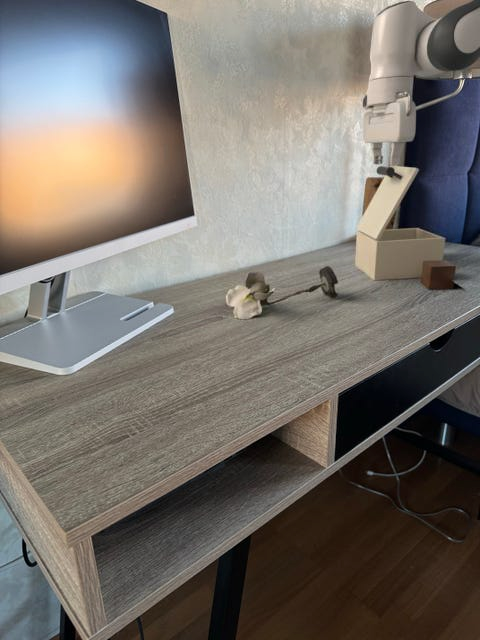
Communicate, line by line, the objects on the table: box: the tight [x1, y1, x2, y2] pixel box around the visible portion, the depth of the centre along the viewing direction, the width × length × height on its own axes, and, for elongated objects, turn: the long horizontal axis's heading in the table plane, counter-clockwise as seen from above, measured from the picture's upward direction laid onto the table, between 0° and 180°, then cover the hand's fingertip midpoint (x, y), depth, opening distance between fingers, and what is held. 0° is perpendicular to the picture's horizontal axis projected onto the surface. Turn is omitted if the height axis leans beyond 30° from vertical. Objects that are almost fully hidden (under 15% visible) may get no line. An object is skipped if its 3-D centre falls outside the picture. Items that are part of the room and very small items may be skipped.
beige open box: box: [354, 227, 446, 281], centre depth 106 cm, size 16×14×9 cm
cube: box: [420, 259, 457, 291], centre depth 94 cm, size 5×5×5 cm
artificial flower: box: [225, 265, 340, 320], centre depth 86 cm, size 9×22×10 cm, turn 107°
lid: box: [355, 165, 420, 240], centre depth 101 cm, size 16×14×5 cm
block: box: [361, 176, 398, 230], centre depth 129 cm, size 11×8×20 cm
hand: (385, 165), depth 98 cm, fingers open, 8 cm apart
